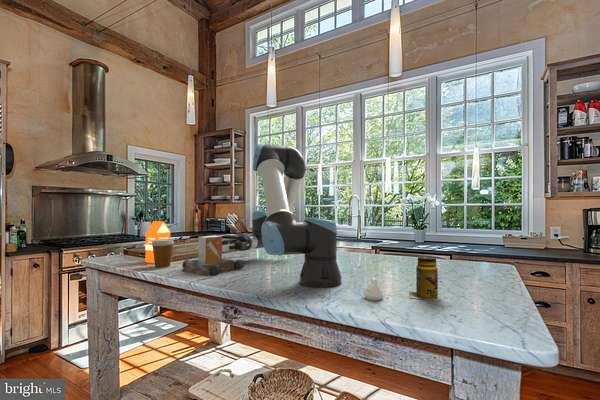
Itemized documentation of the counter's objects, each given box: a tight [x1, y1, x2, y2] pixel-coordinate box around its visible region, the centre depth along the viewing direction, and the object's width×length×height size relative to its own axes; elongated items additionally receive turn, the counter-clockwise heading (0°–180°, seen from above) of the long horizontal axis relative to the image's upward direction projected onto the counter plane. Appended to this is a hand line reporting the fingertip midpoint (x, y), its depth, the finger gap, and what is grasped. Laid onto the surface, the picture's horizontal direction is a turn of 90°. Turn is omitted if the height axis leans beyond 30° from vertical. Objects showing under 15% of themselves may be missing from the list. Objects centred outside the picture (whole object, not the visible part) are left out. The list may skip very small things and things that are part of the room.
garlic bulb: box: [363, 277, 383, 301], centre depth 93 cm, size 6×6×5 cm
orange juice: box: [144, 220, 171, 264], centre depth 153 cm, size 8×9×20 cm
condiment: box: [408, 256, 441, 302], centre depth 94 cm, size 7×8×12 cm
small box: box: [197, 234, 223, 264], centre depth 133 cm, size 8×6×13 cm
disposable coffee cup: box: [151, 238, 175, 269], centre depth 140 cm, size 10×10×12 cm
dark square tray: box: [181, 258, 245, 277], centre depth 134 cm, size 20×19×4 cm
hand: (211, 247), depth 134 cm, fingers open, 13 cm apart
